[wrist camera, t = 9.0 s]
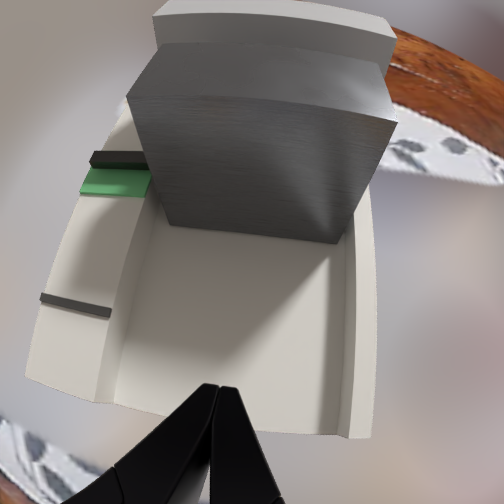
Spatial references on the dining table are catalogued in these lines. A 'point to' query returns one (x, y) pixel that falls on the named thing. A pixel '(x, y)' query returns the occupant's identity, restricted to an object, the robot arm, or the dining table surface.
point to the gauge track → (217, 272)
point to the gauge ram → (258, 137)
